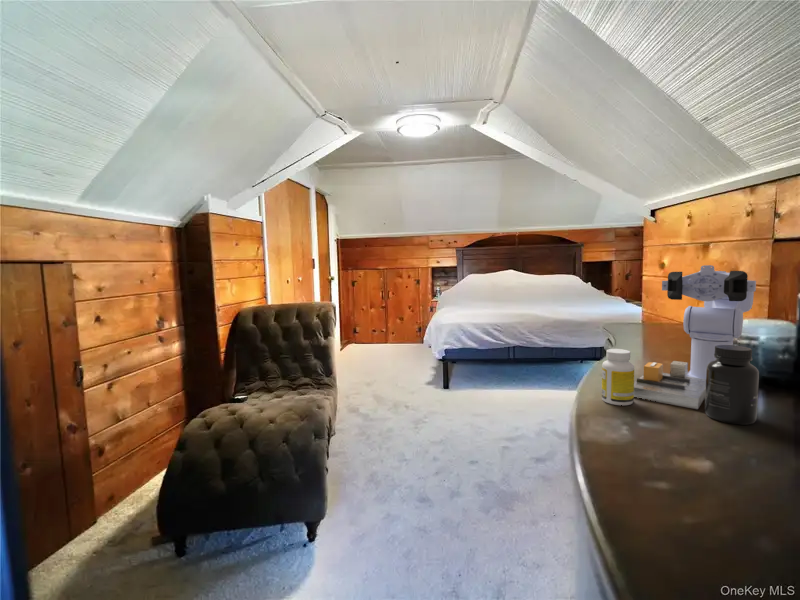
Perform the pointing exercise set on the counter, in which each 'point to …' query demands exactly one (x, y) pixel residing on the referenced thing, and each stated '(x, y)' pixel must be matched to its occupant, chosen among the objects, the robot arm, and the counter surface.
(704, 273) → the robot arm
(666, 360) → the counter surface
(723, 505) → the counter surface
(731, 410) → the supplement bottle
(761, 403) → the counter surface
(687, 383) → the strip
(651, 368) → the orange cuboid
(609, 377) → the supplement bottle
